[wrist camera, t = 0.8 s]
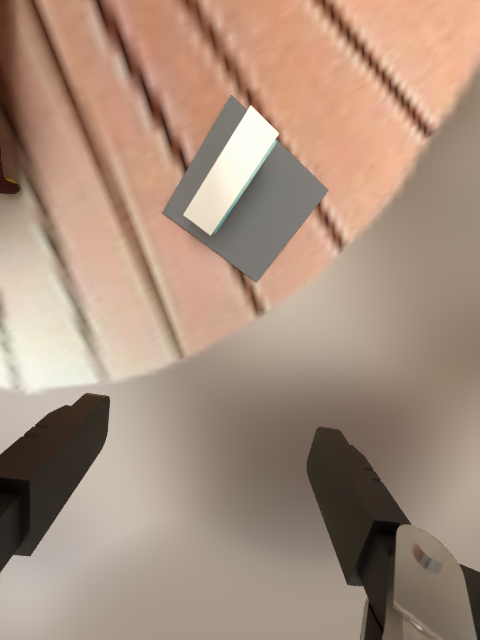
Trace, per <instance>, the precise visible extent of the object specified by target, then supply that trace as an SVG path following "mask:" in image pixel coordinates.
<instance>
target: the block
mask: <svg viewBox="0 0 480 640" xmlns="http://www.w3.org/2000/svg"><path fill="white" fill-rule="evenodd" d="M278 135H279V133H278V132H277V131H276V130H275V129H274V128H273V127H272V126H271V125H270V124H269V123H268V122H267V121H266V120H265V119H264V118H263V117H262V116H261V115H260V114H259V113H258V112H257V111H256V110H255V109H254V108H253V107H252V106H250V107H249V109H248V110H247V112H246V114H245V115H244V117H243V119H242V120H241V122H240V123H239V125H238V127H237V128H236V130H235V131H234V133H233V135H232V136H231V138H230V140H229V141H228V143H227V144H226V146H225V148H224V149H223V151H222V153H221V154H220V156H219V157H218V159H217V161H216V162H215V164H214V166H213V167H212V169H211V170H210V172H209V174H208V175H207V177H206V179H205V180H204V182H203V183H202V185H201V187H200V188H199V190H198V192H197V193H196V195H195V196H194V198H193V200H192V201H191V203H190V205H189V206H188V208H187V209H186V211H185V213H184V214H183V215H184V216H185V217H187V218H188V219H189V220H191V221H192V222H193V223H195V224H196V225H197V226H199V227H200V228H201V229H203V230H204V231H205V232H206V233H208V234H209V235H210V236H211V234H212V233H213V232H214V233H216V232H217V230H218V229H219V227H220V226H221V224H222V223H223V221H224V220H225V218H226V217H227V216H228V214H229V213H230V211H231V210H232V208H233V207H234V205H235V204H236V202H237V201H238V199H239V198H240V196H241V195H242V193H243V192H244V190H245V189H246V187H247V186H248V184H249V183H250V181H251V180H252V178H253V177H254V175H255V174H256V173H257V171H258V170H259V168H260V167H261V165H262V164H263V162H264V161H265V159H266V158H267V156H268V155H269V153H270V152H271V150H272V149H273V147H274V146H275V144H276V143H277V141H276V140H275V139H276V137H277V136H278Z"/></svg>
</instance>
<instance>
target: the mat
mask: <svg viewBox="0 0 480 640" xmlns="http://www.w3.org/2000/svg"><path fill="white" fill-rule="evenodd" d="M246 112H247V110H246V109H245V108H244V107H243V106H242V105H241V104H240V103H239V102H238V101H237V100H236V99H235V98H234V97H233V96H232V95H231V96H230V98H229V100H228V101H227V103H226V105H225V106H224V108H223V110H222V112H221V113H220V115H219V117H218V118H217V120H216V122H215V123H214V125H213V127H212V129H211V130H210V132H209V134H208V135H207V137H206V139H205V140H204V142H203V144H202V146H201V147H200V149H199V151H198V152H197V154H196V156H195V158H194V159H193V161H192V163H191V164H190V166H189V168H188V169H187V171H186V173H185V175H184V176H183V178H182V180H181V181H180V183H179V185H178V187H177V188H176V190H175V192H174V193H173V195H172V197H171V198H170V200H169V202H168V204H167V205H166V207H165V209H164V210H163V212H162V213H163V214H165V215H166V216H167V217H169V218H170V219H171V220H173V221H174V222H175V223H177V224H178V225H179V226H181V227H182V228H183V229H185V230H186V231H188V232H189V233H190V234H192V235H193V236H194V237H196V238H197V239H198V240H200V241H201V242H202V243H204V244H205V245H206V246H208V247H209V248H211V249H212V250H213V251H215V252H216V253H217V254H219V255H220V256H221V257H223V258H224V259H225V260H227V261H228V262H229V263H231V264H232V265H234V266H235V267H236V268H238V269H239V270H240V271H242V272H243V273H244V274H246V275H247V276H248V277H250V278H251V279H252V280H254V281H255V282H257V281H258V280H259V279H260V278H261V276H262V275H263V274H264V272H265V271H266V270H267V269H268V267H269V266H270V265H271V264H272V262H273V261H274V260H275V258H276V257H277V256H278V255H279V253H280V252H281V251H282V249H283V248H284V247H285V246H286V244H287V243H288V242H289V240H290V239H291V238H292V237H293V235H294V234H295V233H296V232H297V230H298V229H299V228H300V226H301V225H302V224H303V223H304V221H305V220H306V219H307V217H308V216H309V215H310V214H311V212H312V211H313V210H314V209H315V207H316V206H317V205H318V203H319V202H320V201H321V200H322V198H323V197H324V196H325V194H326V193H327V192H328V191H329V190H328V189H327V188H326V187H325V186H324V185H323V184H321V183H320V182H319V181H318V180H317V179H316V178H315V177H314V176H313V175H312V174H311V173H310V172H309V171H308V170H307V169H306V168H305V167H304V166H303V165H302V164H301V163H300V162H299V161H298V160H297V159H296V158H295V157H294V156H293V155H292V154H291V153H290V152H289V151H288V150H287V149H286V148H285V147H284V146H283V145H282V144H281V143H280V142H279V141H278V140H277V139H275V140H276V141H277V143H276V144H275V146H274V147H273V149H272V150H271V152H270V153H269V155H268V156H267V158H266V159H265V161H264V162H263V164H262V165H261V167H260V168H259V170H258V171H257V173H256V174H255V175H254V177H253V178H252V180H251V181H250V183H249V184H248V186H247V187H246V189H245V190H244V192H243V193H242V195H241V196H240V198H239V199H238V201H237V202H236V204H235V205H234V207H233V208H232V210H231V211H230V213H229V214H228V216H227V217H226V218H225V220H224V221H223V223H222V224H221V226H220V227H219V229H218V230H217V232H216V233H214V232H213V233H212V234H211V236H210V235H209V234H208V233H206V232H205V231H204V230H203V229H201V228H200V227H199V226H197V225H196V224H195V223H193V222H192V221H191V220H189V219H188V218H187V217H185V216H184V215H183V214H184V213H185V211H186V209H187V208H188V206H189V205H190V203H191V201H192V200H193V198H194V196H195V195H196V193H197V192H198V190H199V188H200V187H201V185H202V183H203V182H204V180H205V179H206V177H207V175H208V174H209V172H210V170H211V169H212V167H213V166H214V164H215V162H216V161H217V159H218V157H219V156H220V154H221V153H222V151H223V149H224V148H225V146H226V144H227V143H228V141H229V140H230V138H231V136H232V135H233V133H234V131H235V130H236V128H237V127H238V125H239V123H240V122H241V120H242V119H243V117H244V115H245V114H246Z"/></svg>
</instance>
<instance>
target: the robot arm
mask: <svg viewBox="0 0 480 640" xmlns="http://www.w3.org/2000/svg"><path fill="white" fill-rule="evenodd" d="M109 407H110V398H109V396H105V395H98V394H90V393H86V394H84V395H83V396H82V397H81V398H80V399H79V400H77V401H76V402H75V403H74V404H73V405H72V406H68V405H65V406H63V407H61V408H59V409H57V410H54V411H53V412H50V413H48V414H47V415H46V416H45V417H44V418H43V419H42V420H40V421H39V422H38V423H37V424H36V425H35V427H32V428H31V429H30V430H29V431H27V432H26V433H25V434H24V436H23V437H20V438H19V439H18V440H17V441H16V442H14V443H13V444H12V445H11V446H10V447H9V448H8V449H6V450H5V451H4V452H3V453H2V454H0V572H1V571H2V569H3V568H4V566H5V565H6V564H7V562H8V561H9V560H10V558H11V557H12V556H13V555H21V556H31V554H32V553H33V551H34V550H35V548H36V547H37V545H38V544H39V542H40V541H41V540H42V538H43V536H44V535H45V534H46V532H47V531H48V529H49V527H50V526H51V525H52V523H53V522H54V520H55V519H56V517H57V515H58V514H59V512H60V511H61V510H62V508H63V507H64V505H65V504H66V502H67V501H68V499H69V498H70V496H71V495H72V493H73V492H74V490H75V489H76V487H77V486H78V484H79V483H80V481H81V480H82V478H83V477H84V475H85V474H86V472H87V471H88V469H89V468H90V466H91V465H92V463H93V462H94V460H95V459H96V457H97V456H98V454H99V453H100V451H101V449H102V448H103V445H104V443H105V440H106V437H107V432H108V419H109ZM307 474H308V478H309V481H310V483H311V486H312V489H313V492H314V494H315V497H316V500H317V503H318V505H319V508H320V511H321V514H322V516H323V519H324V522H325V525H326V527H327V530H328V533H329V535H330V538H331V541H332V544H333V547H334V549H335V552H336V555H337V558H338V560H339V563H340V566H341V569H342V571H343V574H344V577H345V579H346V582H347V584H348V585H353V586H364V589H365V591H366V594H367V596H368V597H367V599H366V601H365V605H364V611H363V618H362V626H361V633H360V640H480V572H478V571H475V570H473V569H471V568H468V567H466V566H463V565H461V564H459V563H458V562H457V560H456V559H455V558H454V556H453V555H452V554H451V553H450V551H449V550H448V549H447V548H446V547H445V546H444V545H443V544H442V543H441V542H440V541H439V540H437V539H436V538H435V537H434V536H432V535H431V534H429V533H428V532H426V531H425V530H423V529H421V528H418V527H416V526H413V525H411V523H410V522H409V520H408V519H407V517H406V516H405V514H404V513H403V511H402V510H401V509H400V507H399V506H398V504H397V503H396V501H395V500H394V498H393V497H392V496H391V494H390V493H389V491H388V490H387V488H386V487H385V485H384V484H383V483H382V482H381V481H380V478H379V477H378V475H377V474H376V472H374V471H373V468H372V467H371V465H370V464H369V462H368V461H367V459H366V458H365V456H364V455H362V454H361V453H360V452H359V451H358V450H357V449H356V448H355V447H354V446H353V445H349V443H348V442H347V440H346V439H345V437H344V436H343V434H342V432H341V431H340V430H338V429H332V428H325V427H318V429H317V430H316V433H315V436H314V440H313V443H312V446H311V449H310V453H309V456H308V459H307Z"/></svg>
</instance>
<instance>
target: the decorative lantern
mask: <svg viewBox="0 0 480 640" xmlns="http://www.w3.org/2000/svg"><path fill="white" fill-rule="evenodd" d="M19 190H20V186H19V185H18V184H17V183H16V182H15V181H13V180H11V179H8V178H5V177H4V175H3V170H2V162H1V150H0V193H1V194H16V193H17V192H19Z"/></svg>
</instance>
